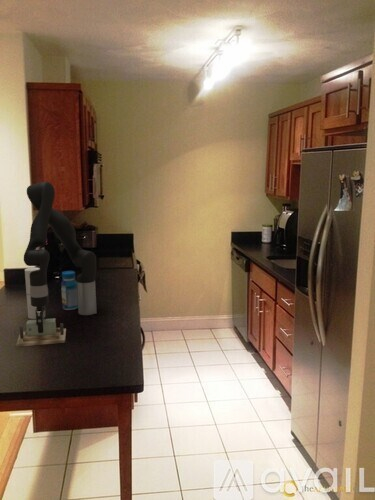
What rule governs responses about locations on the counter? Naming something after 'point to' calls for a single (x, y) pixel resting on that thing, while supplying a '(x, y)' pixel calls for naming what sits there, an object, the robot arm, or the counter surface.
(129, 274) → the counter surface
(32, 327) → the rectangular block
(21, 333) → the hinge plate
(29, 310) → the cylindrical container
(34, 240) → the robot arm
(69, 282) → the blue pill bottle
